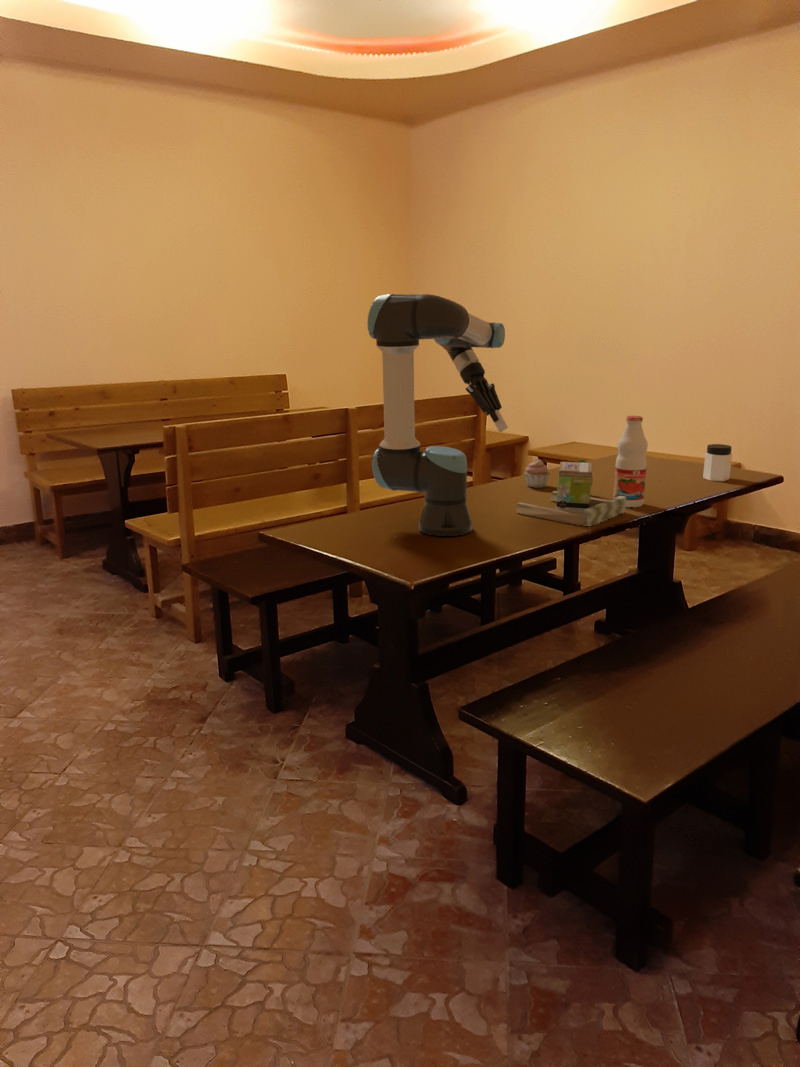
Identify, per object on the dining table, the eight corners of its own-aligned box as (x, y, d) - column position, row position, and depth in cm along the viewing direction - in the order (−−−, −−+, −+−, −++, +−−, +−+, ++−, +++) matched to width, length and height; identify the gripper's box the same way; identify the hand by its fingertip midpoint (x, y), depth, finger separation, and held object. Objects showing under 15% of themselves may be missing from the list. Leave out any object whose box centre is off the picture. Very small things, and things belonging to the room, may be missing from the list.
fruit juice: (638, 500, 269) (644, 414, 262) (647, 507, 260) (654, 418, 253) (609, 501, 269) (615, 414, 261) (617, 508, 260) (624, 419, 252)
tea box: (589, 520, 247) (592, 471, 243) (555, 518, 249) (557, 470, 245) (589, 508, 261) (592, 461, 257) (557, 506, 263) (559, 460, 259)
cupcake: (523, 483, 295) (524, 455, 292) (550, 484, 293) (551, 456, 290) (521, 488, 286) (522, 460, 283) (549, 490, 284) (550, 461, 282)
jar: (733, 480, 297) (737, 447, 293) (713, 482, 295) (716, 448, 292) (719, 475, 305) (722, 443, 302) (699, 476, 303) (702, 444, 300)
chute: (589, 527, 239) (590, 510, 238) (516, 513, 255) (517, 497, 254) (625, 512, 255) (626, 496, 254) (554, 499, 271) (554, 484, 269)
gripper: (473, 374, 274) (507, 434, 269) (449, 374, 265) (483, 437, 260) (489, 360, 270) (523, 422, 264) (464, 360, 260) (499, 424, 255)
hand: (503, 429), depth 262 cm, fingers closed
